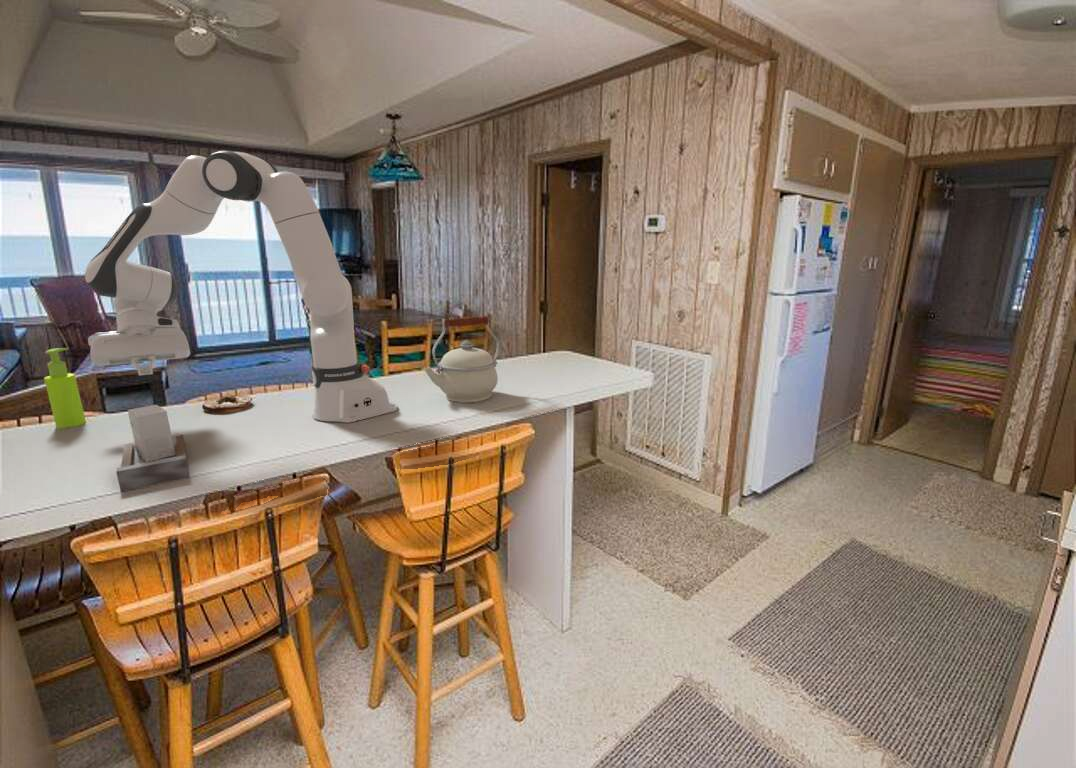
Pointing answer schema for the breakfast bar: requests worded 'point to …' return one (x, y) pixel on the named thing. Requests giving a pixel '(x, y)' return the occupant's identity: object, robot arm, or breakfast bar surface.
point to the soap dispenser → (63, 393)
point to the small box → (151, 432)
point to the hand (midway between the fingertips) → (145, 373)
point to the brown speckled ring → (227, 404)
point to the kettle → (465, 367)
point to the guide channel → (151, 468)
